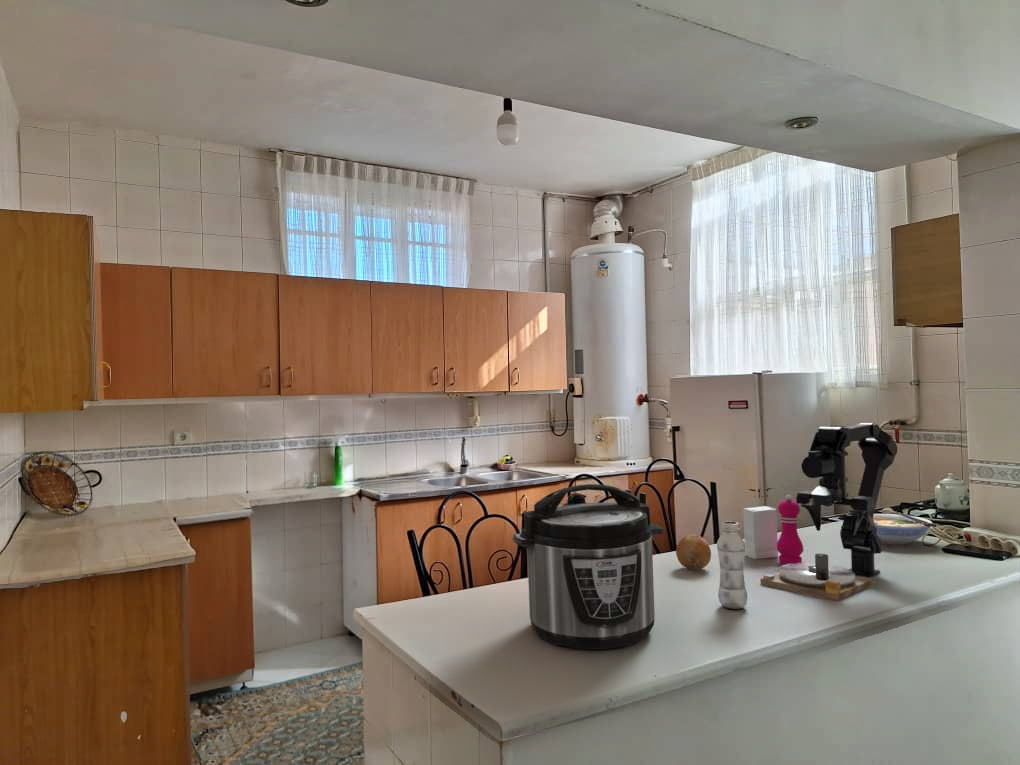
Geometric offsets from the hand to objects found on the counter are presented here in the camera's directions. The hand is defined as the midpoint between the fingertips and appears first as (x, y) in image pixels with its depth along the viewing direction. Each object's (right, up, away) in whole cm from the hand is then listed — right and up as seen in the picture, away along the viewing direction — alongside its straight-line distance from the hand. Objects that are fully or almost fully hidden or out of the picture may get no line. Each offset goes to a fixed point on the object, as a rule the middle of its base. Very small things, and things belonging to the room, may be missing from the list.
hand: (835, 532), depth 182 cm
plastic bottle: (-34, -14, -20) cm, 41 cm away
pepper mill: (-4, -13, +20) cm, 24 cm away
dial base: (-6, -13, -3) cm, 15 cm away
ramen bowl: (+39, -13, +43) cm, 60 cm away
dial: (-6, -11, -3) cm, 13 cm away
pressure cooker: (-69, -14, -34) cm, 78 cm away
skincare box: (-9, -14, +28) cm, 33 cm away
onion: (-34, -14, +15) cm, 39 cm away
